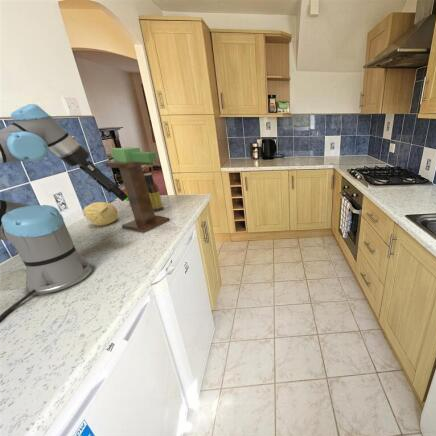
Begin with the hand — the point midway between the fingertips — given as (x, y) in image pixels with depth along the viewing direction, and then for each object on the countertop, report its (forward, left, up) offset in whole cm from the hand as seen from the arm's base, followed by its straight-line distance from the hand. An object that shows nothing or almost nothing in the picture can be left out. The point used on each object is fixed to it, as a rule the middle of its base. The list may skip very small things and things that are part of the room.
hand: (118, 194), depth 99 cm
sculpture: (+4, +24, -18) cm, 30 cm away
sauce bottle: (+26, +15, -18) cm, 35 cm away
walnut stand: (+10, +3, -18) cm, 21 cm away
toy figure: (+10, -1, +12) cm, 16 cm away
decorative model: (+30, +33, -18) cm, 48 cm away
